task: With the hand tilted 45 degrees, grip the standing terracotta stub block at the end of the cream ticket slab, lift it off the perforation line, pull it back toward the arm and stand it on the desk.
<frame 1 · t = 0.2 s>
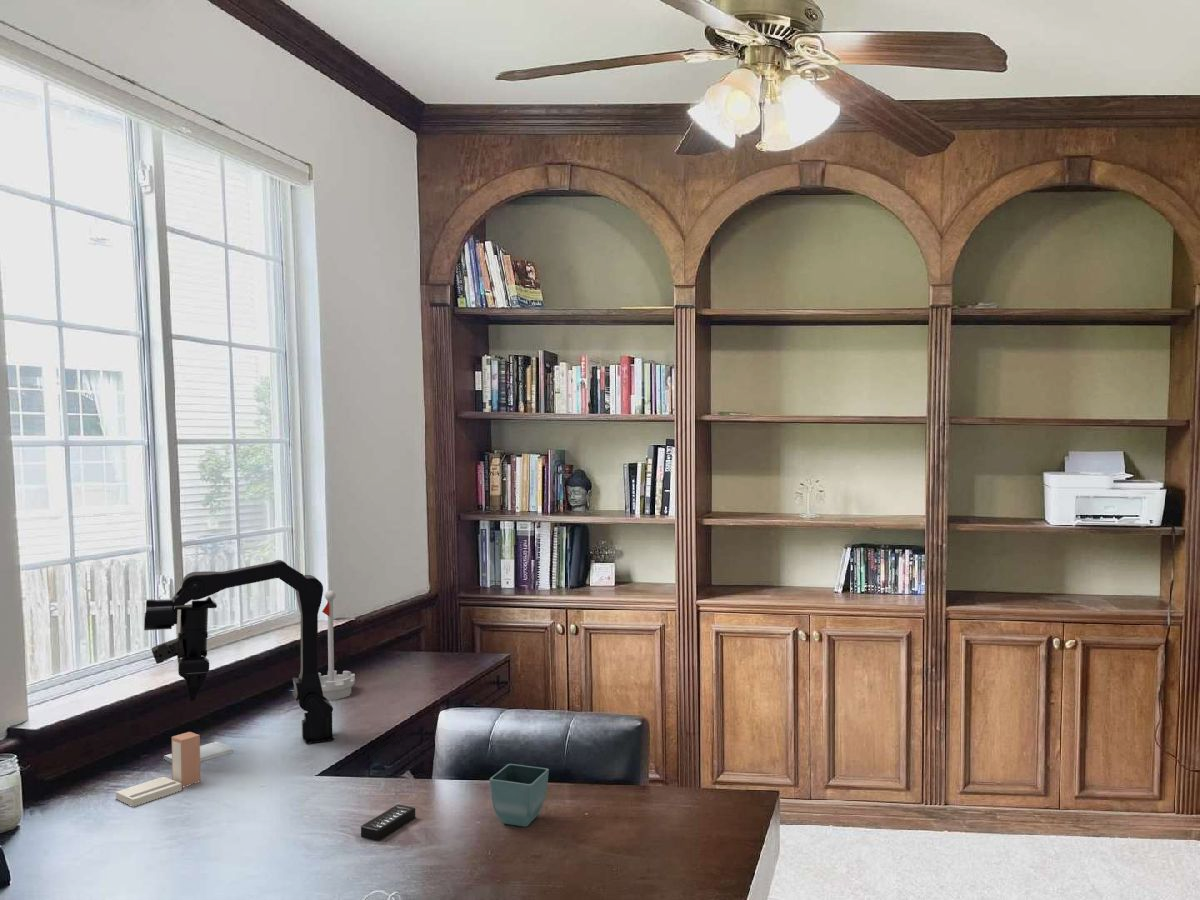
hand: (191, 695, 204), 14 cm above the table, tool pointing down, fingers open, 9 cm apart
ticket: (149, 794, 183), on the table
multiport hub: (388, 830, 166), on the table
hard drive: (198, 759, 205), on the table
stub: (186, 782, 189), on the table
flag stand: (331, 695, 254), on the table
flower pot: (520, 821, 168), on the table
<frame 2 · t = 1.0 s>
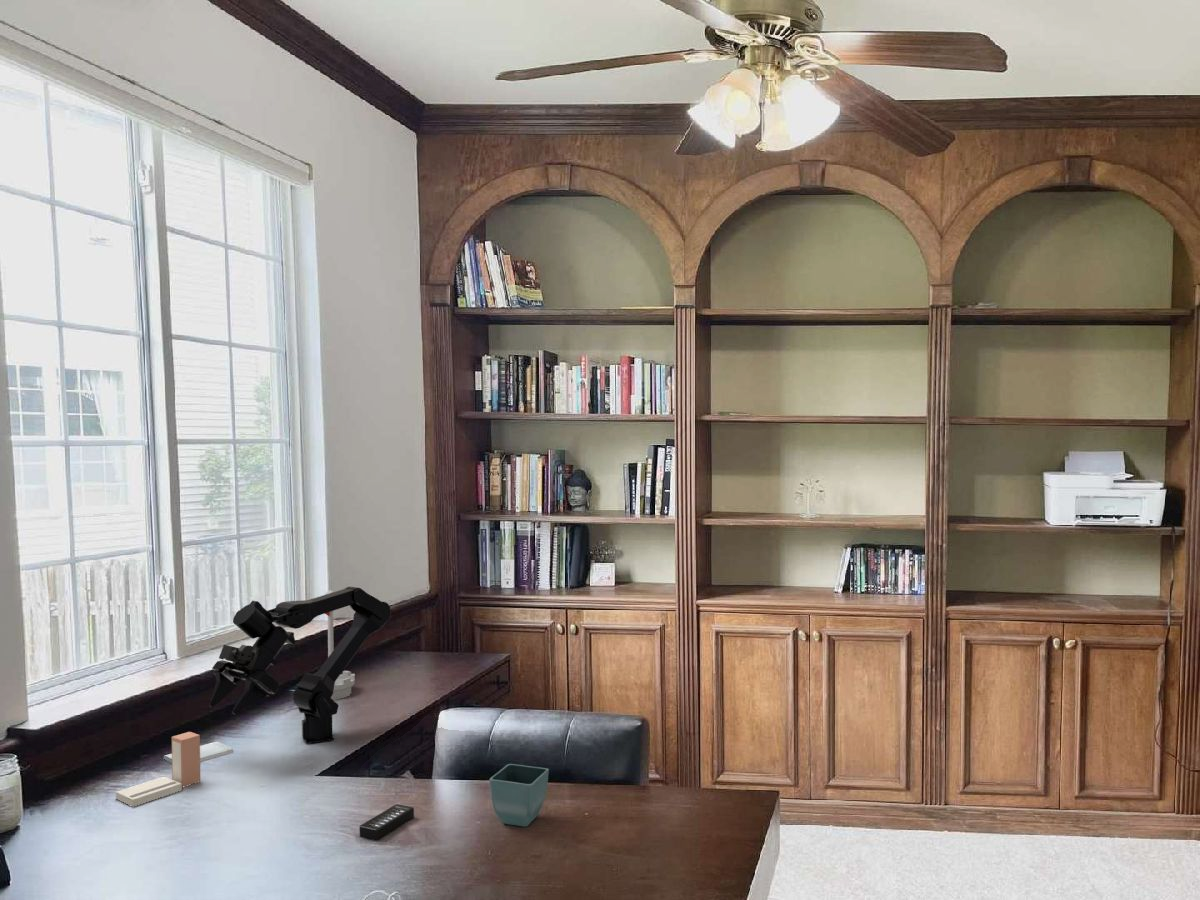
hand: (221, 710, 196), 13 cm above the table, tool tilted 45°, fingers open, 9 cm apart
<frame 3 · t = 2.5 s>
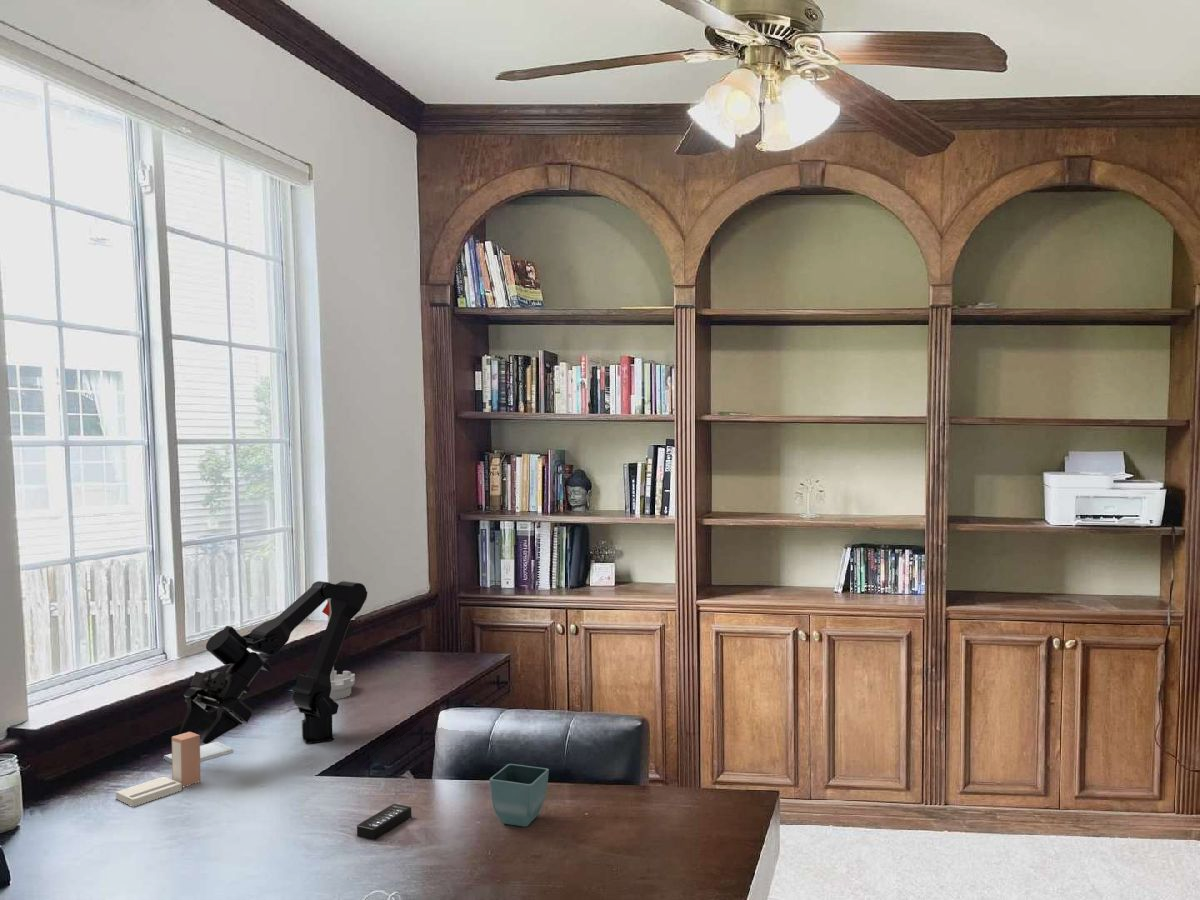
hand: (192, 739, 190), 9 cm above the table, tool tilted 45°, fingers open, 9 cm apart
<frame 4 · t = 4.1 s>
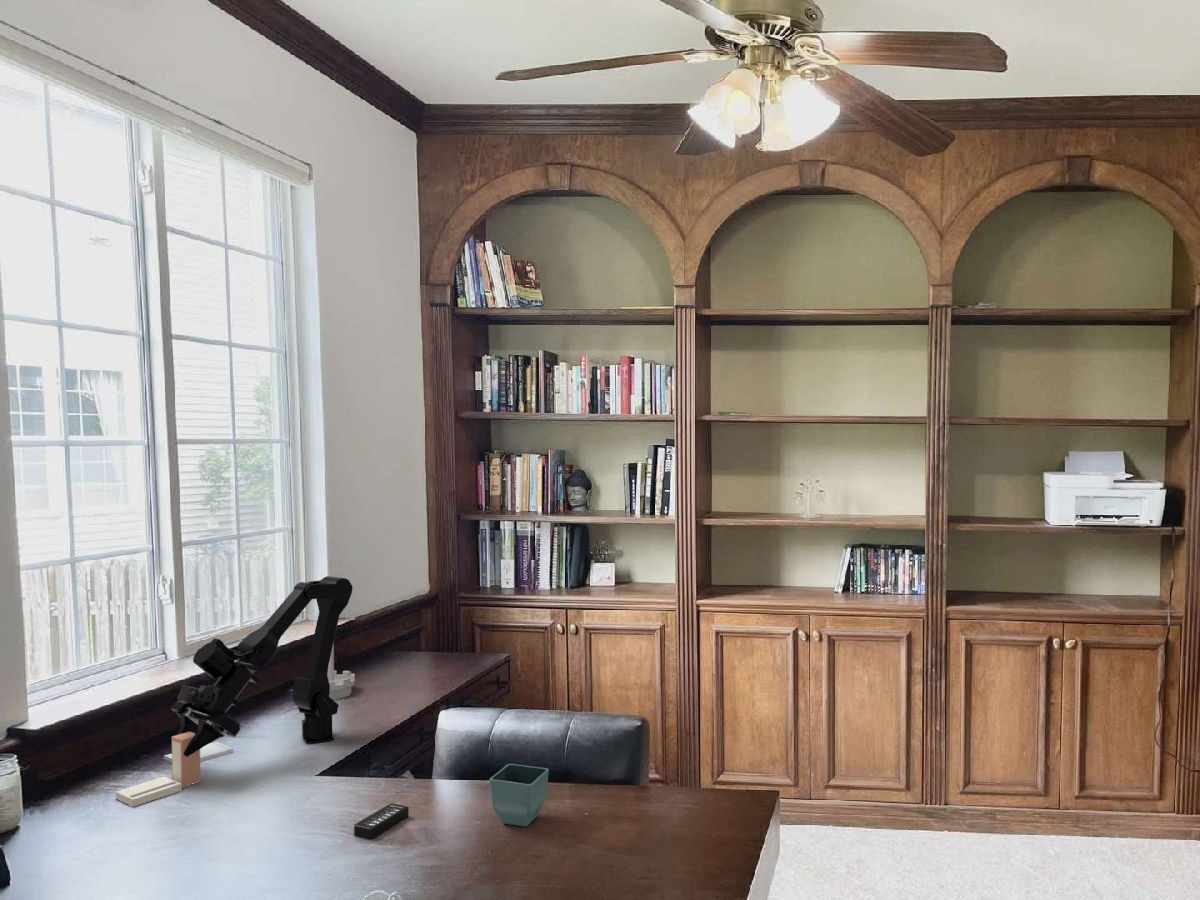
hand: (179, 753, 188), 7 cm above the table, tool tilted 45°, fingers closed on stub, 4 cm apart
stub: (186, 782, 189), on the table, touching gripper
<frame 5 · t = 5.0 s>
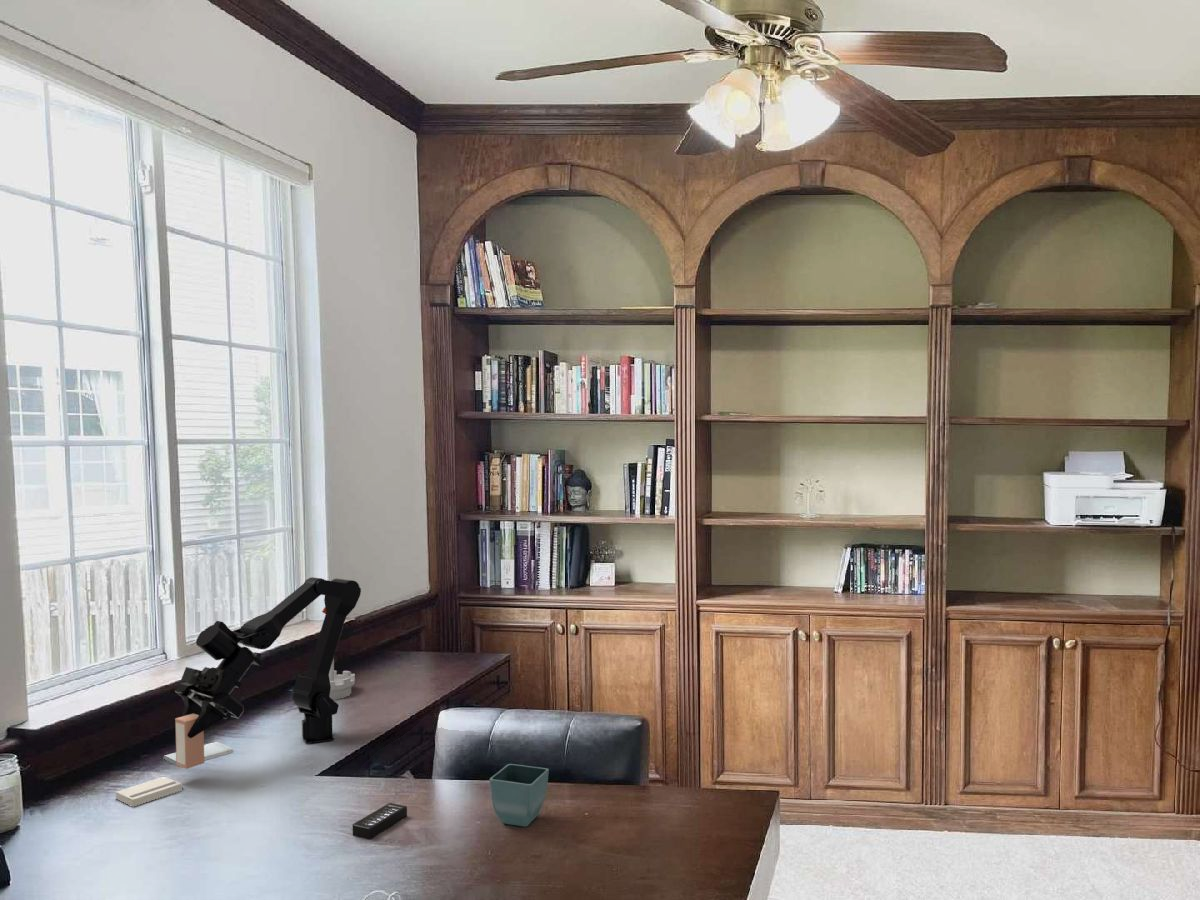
hand: (183, 735, 189), 10 cm above the table, tool tilted 45°, fingers closed on stub, 4 cm apart
stub: (190, 763, 190), point 4 cm above the table, touching gripper
when the fingers open (8 cm above the table, at t = 6.3 s): stub drops 1 cm, on the table.
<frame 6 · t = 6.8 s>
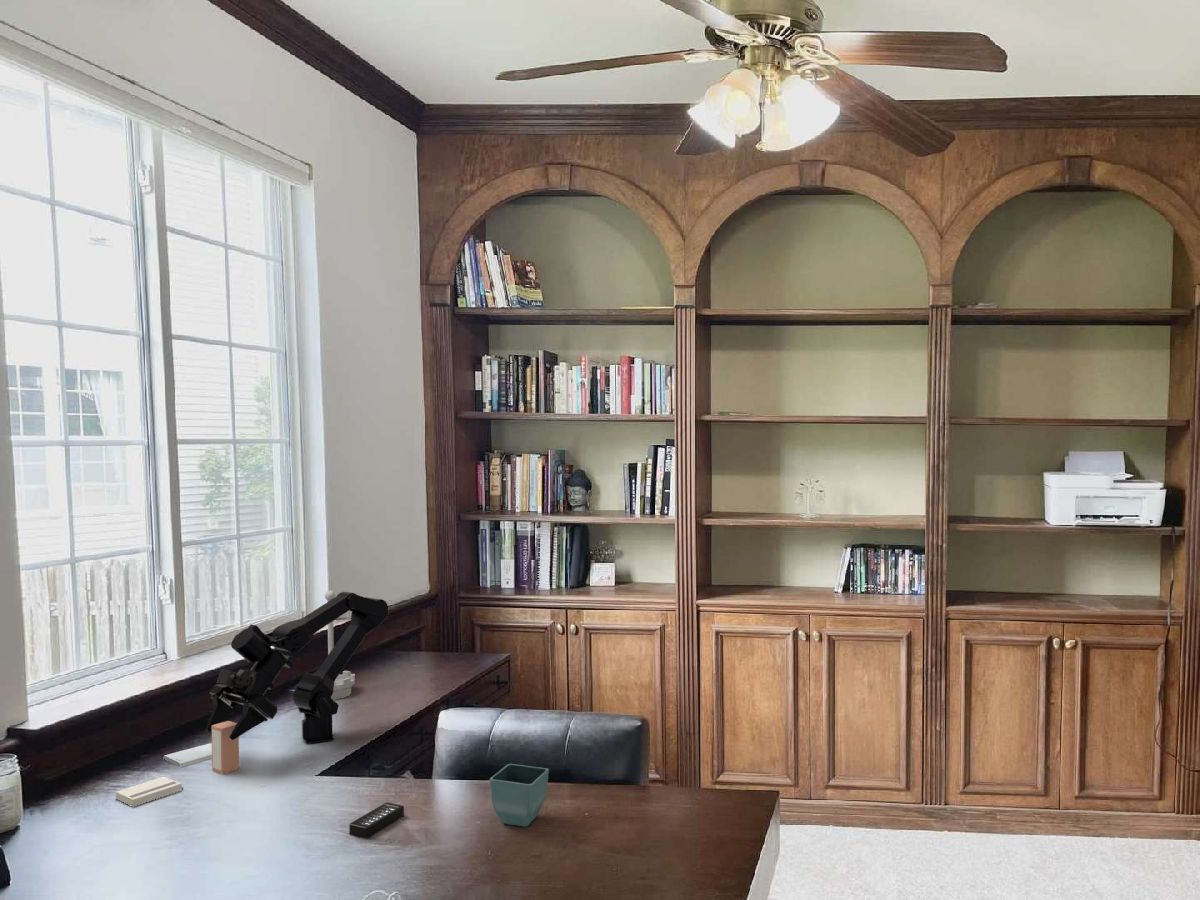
hand: (219, 735, 195), 8 cm above the table, tool tilted 45°, fingers open, 9 cm apart
stub: (225, 769, 196), on the table
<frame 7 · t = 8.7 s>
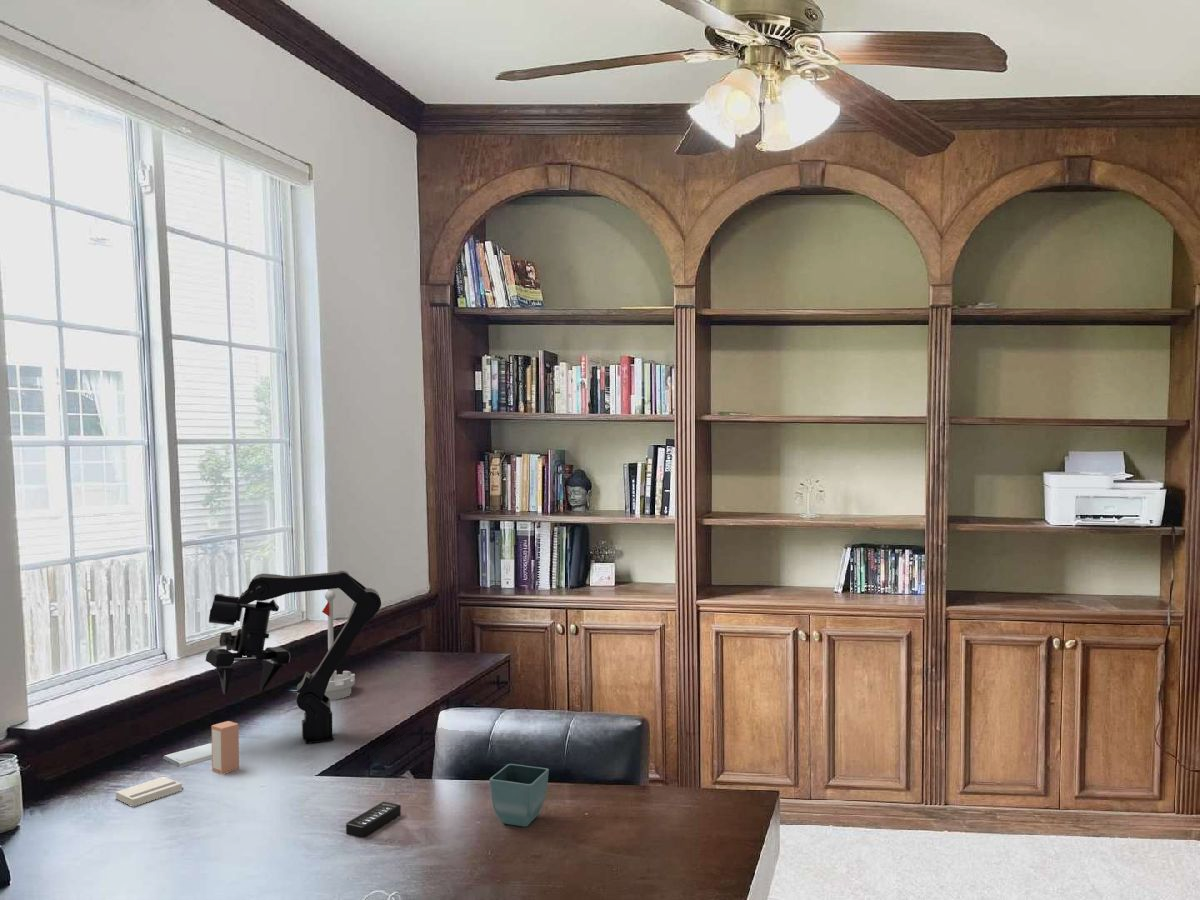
hand: (243, 692, 211), 13 cm above the table, tool pointing down, fingers open, 9 cm apart
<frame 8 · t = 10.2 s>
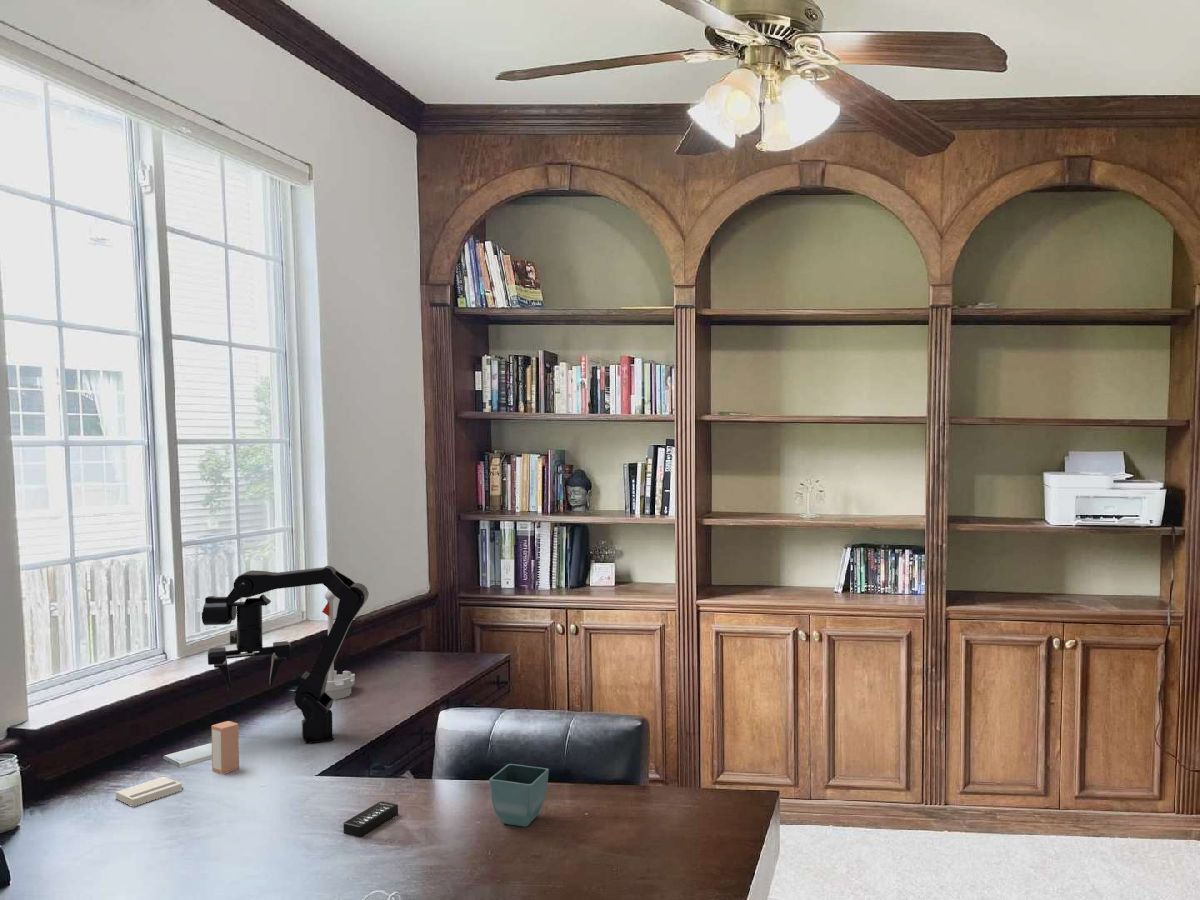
hand: (250, 688, 215), 13 cm above the table, tool pointing down, fingers open, 9 cm apart
at the end: stub moved 9.0 cm from its start; stub tilted 0°; stub on the table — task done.
